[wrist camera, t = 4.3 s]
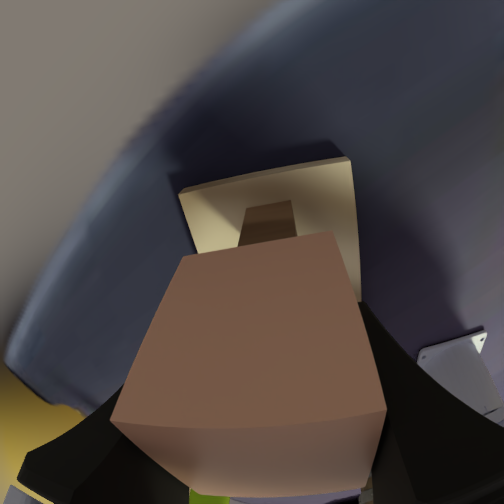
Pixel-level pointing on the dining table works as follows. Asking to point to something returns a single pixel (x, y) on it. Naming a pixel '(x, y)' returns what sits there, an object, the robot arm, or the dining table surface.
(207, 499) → the soap dispenser
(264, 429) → the tan cardboard box
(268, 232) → the walnut post
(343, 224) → the birch board
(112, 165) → the dining table surface
